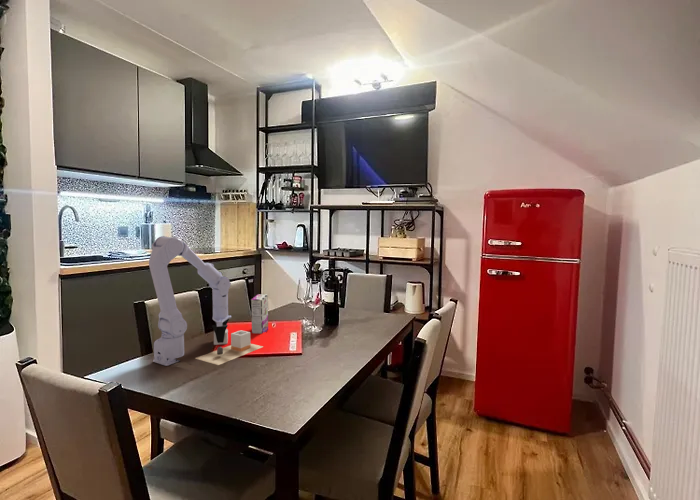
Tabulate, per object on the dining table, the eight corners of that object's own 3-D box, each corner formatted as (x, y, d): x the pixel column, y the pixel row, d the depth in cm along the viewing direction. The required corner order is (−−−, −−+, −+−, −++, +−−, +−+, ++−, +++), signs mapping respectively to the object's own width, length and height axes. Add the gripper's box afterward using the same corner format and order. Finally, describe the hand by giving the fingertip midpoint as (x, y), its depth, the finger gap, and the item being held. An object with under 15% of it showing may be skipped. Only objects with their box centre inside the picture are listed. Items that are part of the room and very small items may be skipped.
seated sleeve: (240, 351, 142) (240, 335, 142) (231, 349, 145) (231, 333, 144) (250, 347, 147) (250, 332, 146) (241, 345, 149) (240, 330, 149)
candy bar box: (257, 329, 176) (257, 294, 174) (268, 329, 176) (268, 294, 174) (250, 336, 165) (250, 299, 163) (262, 337, 165) (262, 299, 163)
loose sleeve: (227, 347, 151) (227, 332, 150) (213, 348, 150) (213, 333, 149) (228, 343, 156) (227, 328, 155) (215, 344, 154) (214, 329, 154)
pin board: (218, 369, 129) (218, 355, 129) (194, 362, 135) (194, 348, 135) (263, 350, 148) (263, 337, 148) (241, 344, 154) (241, 332, 154)
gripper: (230, 309, 145) (230, 344, 147) (231, 301, 159) (232, 333, 160) (210, 310, 144) (211, 345, 145) (213, 302, 157) (214, 334, 159)
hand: (221, 339), depth 152 cm, fingers open, 7 cm apart
